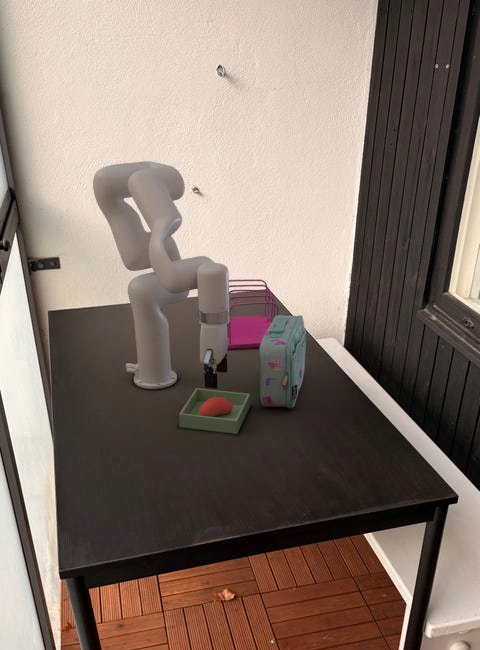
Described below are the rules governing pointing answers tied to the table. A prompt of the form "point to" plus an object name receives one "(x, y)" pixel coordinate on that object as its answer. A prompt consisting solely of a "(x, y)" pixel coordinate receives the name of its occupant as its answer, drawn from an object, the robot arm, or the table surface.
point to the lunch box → (282, 361)
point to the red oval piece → (215, 407)
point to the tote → (220, 422)
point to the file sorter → (249, 320)
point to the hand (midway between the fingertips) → (216, 379)
